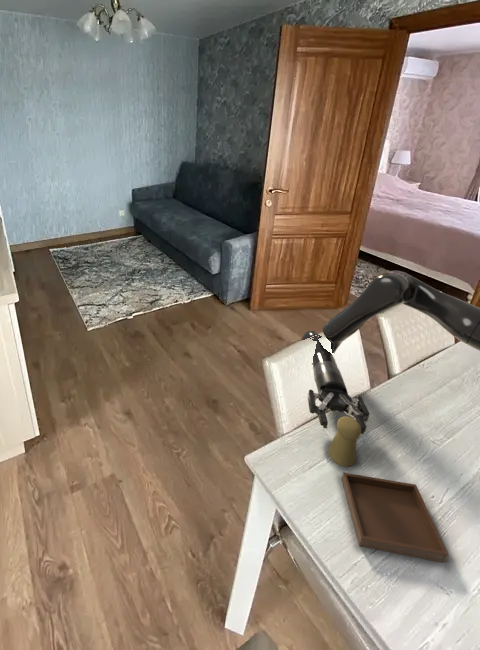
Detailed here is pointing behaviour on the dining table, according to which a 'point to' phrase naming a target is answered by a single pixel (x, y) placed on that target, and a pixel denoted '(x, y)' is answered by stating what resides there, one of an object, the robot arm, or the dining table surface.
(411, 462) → the dining table surface
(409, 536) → the tray
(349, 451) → the cork
